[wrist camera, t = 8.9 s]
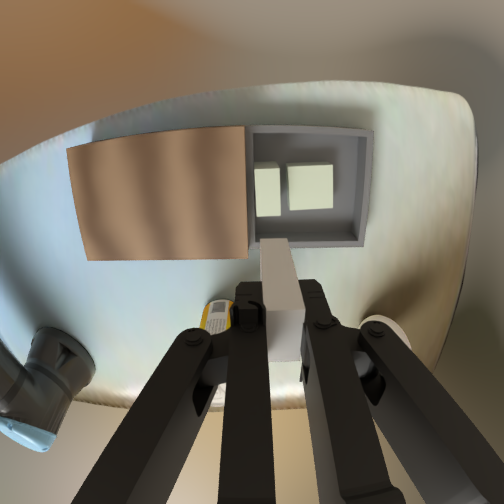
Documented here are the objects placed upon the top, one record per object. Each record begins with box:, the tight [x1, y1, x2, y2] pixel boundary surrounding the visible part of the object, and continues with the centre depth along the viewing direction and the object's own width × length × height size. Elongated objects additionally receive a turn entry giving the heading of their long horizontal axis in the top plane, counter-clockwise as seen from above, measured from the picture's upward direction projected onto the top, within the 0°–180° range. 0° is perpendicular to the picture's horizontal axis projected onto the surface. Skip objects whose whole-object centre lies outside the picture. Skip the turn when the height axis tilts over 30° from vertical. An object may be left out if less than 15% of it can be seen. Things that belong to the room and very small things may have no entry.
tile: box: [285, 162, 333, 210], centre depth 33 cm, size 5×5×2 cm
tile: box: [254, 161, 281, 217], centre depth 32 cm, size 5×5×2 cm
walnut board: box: [66, 125, 248, 261], centre depth 32 cm, size 20×14×6 cm
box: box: [245, 125, 374, 249], centre depth 33 cm, size 14×14×4 cm
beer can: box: [199, 299, 234, 407], centre depth 36 cm, size 6×6×15 cm
